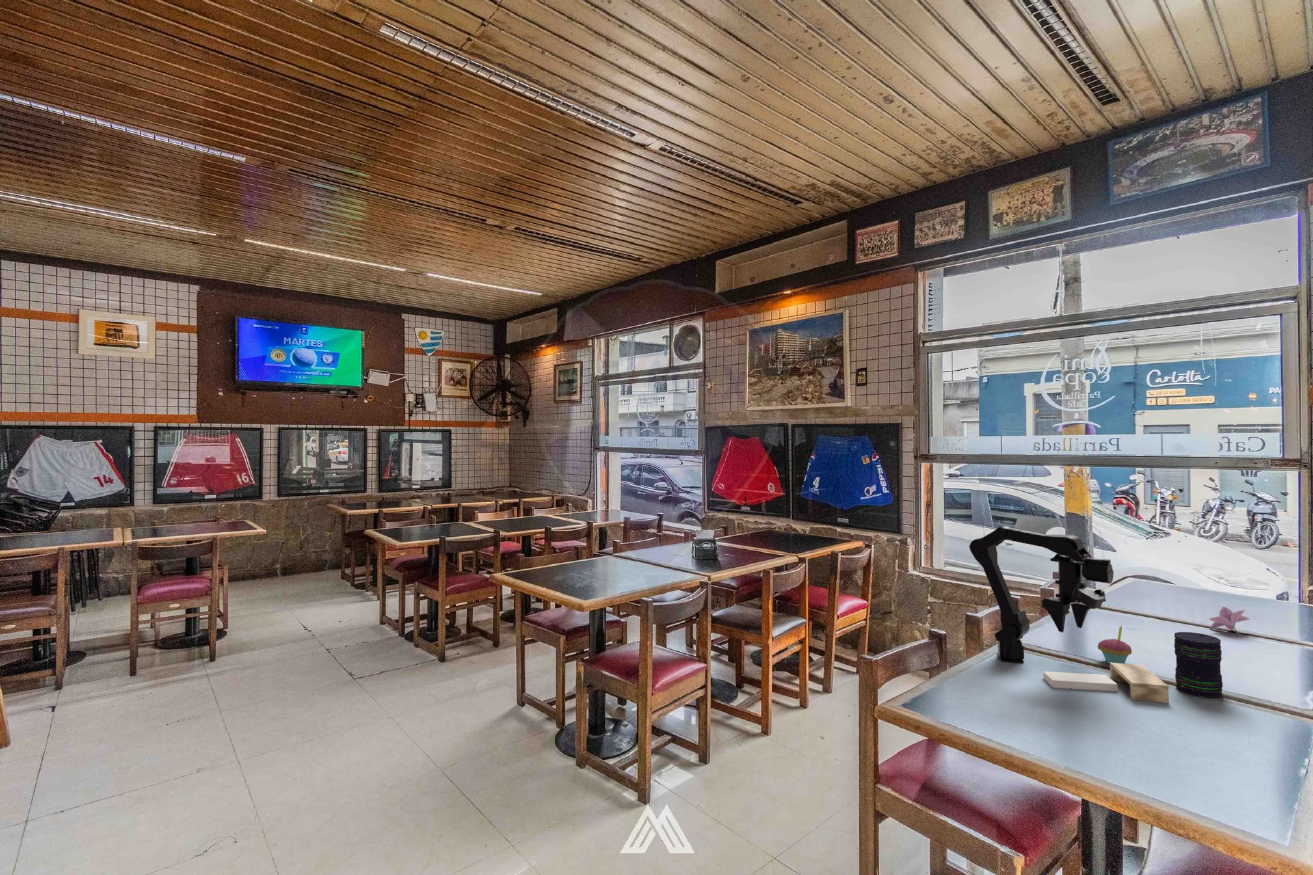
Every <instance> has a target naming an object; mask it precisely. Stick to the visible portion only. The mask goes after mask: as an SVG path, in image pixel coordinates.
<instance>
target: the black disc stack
mask: <svg viewBox="0 0 1313 875" xmlns="http://www.w3.org/2000/svg"><path fill="white" fill-rule="evenodd" d="M1173 636H1174V643H1173V646H1174V655H1175V663H1176V664H1175V674H1174V677H1175V678H1174V679H1175V683H1176V685H1175V689H1176V690H1177V691H1179V692H1180V693H1182V694H1185V695H1188V696H1191V695H1192V697H1196V698H1201V699H1206V700H1208V699H1209V700H1218V699H1222V698H1223V697H1222V695H1223V687H1224V683H1223V676H1222V673H1221V662H1222V655H1223V654H1222V646H1221V644H1222V642H1221V641H1222V640H1221V639H1220V638H1218V637H1215V636H1213V635H1209V634H1205V633H1204V634H1203V633H1199V632H1189V631H1178V632H1174V635H1173ZM1223 696H1224V695H1223Z"/></svg>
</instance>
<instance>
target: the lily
mask: <svg viewBox="0 0 1313 875" xmlns="http://www.w3.org/2000/svg"><path fill="white" fill-rule="evenodd" d="M1245 611H1246V609H1241V610H1237V611H1235V612H1233V611H1232V610H1231V609H1230V608H1228V607H1227V606H1222V607H1221V608H1220V610H1219V613H1218V616H1214V617H1210V618H1208V620H1209V621H1210V622H1213V623H1212V624H1211V625H1210V626H1209V630H1213V629H1216V628H1219V627H1226V628H1227V629H1228V630H1230V631H1235V633H1236V635H1237V637H1240V635H1239V633H1238V631H1237V630H1236V624H1237V623H1239V622H1245V621H1249V620H1251V619H1250V617H1247V616H1244V615H1242V614H1244V612H1245Z"/></svg>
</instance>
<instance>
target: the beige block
mask: <svg viewBox="0 0 1313 875" xmlns="http://www.w3.org/2000/svg"><path fill="white" fill-rule="evenodd" d="M1109 673H1110V674H1109V675H1110V677H1109V678H1110V679H1111V680H1113V681H1117V682H1118V683H1119V684H1129V693H1130V694H1129V697H1130V699H1132V700H1133V701H1141V702H1142V701H1144V702H1153V703H1164V704H1165V703H1166V704H1170V698H1169V697H1170V696H1169V685H1168V684H1167V683H1165V682H1164V681H1163V680H1162V679H1160V678H1159V677H1158V676H1157V675H1156V674H1154V673H1153V672H1152V671H1150V670H1149V669H1148V668H1147V667H1145V665H1143V664H1133V663H1132V664H1131V663H1125V664H1122V663H1109Z"/></svg>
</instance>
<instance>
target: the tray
mask: <svg viewBox="0 0 1313 875" xmlns="http://www.w3.org/2000/svg"><path fill="white" fill-rule="evenodd" d="M1042 672H1043V673H1042V676H1043V680H1045V681H1046V682H1047V684H1049V685H1050V686H1051V687H1052V688H1053V687H1054V688H1056V689H1069V688H1072V690H1087V691H1089V690H1090V691H1103V692H1118V683H1116V682H1115V680H1112V679H1111V678H1110V677H1108V676H1107V675H1106V674H1095V673H1093V674H1092V673H1078V672H1076V673H1075V672H1063V671H1061V672H1058V671H1042Z"/></svg>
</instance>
